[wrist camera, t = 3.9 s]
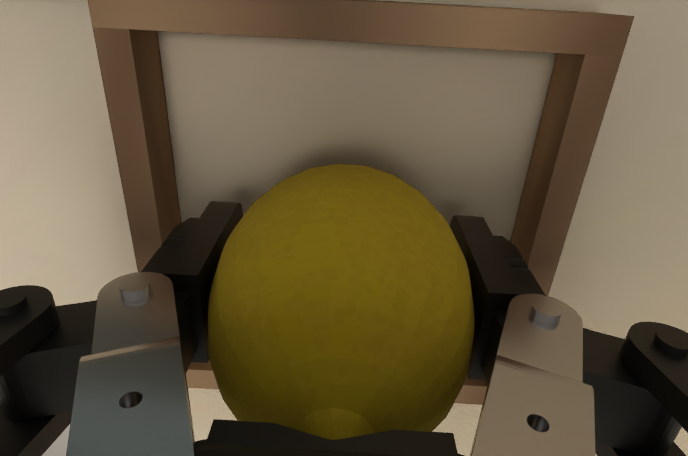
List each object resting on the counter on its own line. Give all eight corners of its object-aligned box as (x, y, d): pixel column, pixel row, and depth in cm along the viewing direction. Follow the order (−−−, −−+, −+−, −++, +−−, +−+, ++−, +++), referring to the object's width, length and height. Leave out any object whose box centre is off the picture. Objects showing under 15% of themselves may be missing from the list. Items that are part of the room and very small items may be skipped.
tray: (601, 13, 11) (634, 16, 10) (501, 372, 16) (514, 406, 15) (117, -14, 11) (84, -14, 10) (175, 353, 16) (159, 386, 15)
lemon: (385, 316, 15) (407, 595, 8) (228, 251, 14) (103, 506, 7) (477, 177, 13) (617, 402, 6) (297, 88, 12) (211, 233, 5)
